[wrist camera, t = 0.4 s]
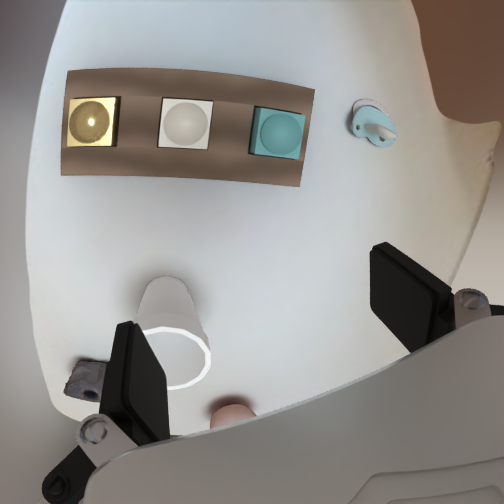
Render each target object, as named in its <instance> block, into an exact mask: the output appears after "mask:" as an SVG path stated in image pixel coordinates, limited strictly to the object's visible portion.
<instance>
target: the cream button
mask: <svg viewBox="0 0 504 504" xmlns="http://www.w3.org/2000/svg"><path fill="white" fill-rule="evenodd" d="M212 106H213V102H208V101H196V100H182V99H163V106H162V115H161V125H160V135H159V146H158V147H177V148H194V149H207V146H208V138H209V129H210V121H211V113H212Z"/></svg>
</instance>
